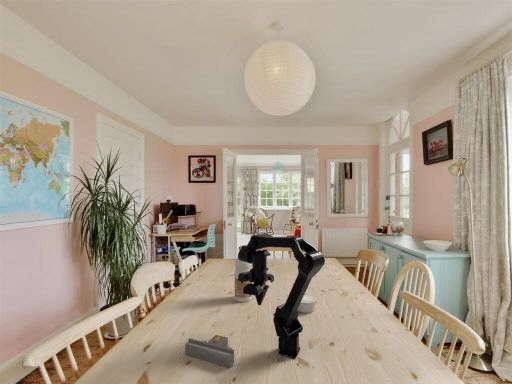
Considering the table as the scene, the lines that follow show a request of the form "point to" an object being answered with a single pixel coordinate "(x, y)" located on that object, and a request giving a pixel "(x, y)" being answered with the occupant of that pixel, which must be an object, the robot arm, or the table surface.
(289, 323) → the robot arm
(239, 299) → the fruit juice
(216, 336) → the block
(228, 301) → the table surface
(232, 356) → the rail
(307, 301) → the ramekin
